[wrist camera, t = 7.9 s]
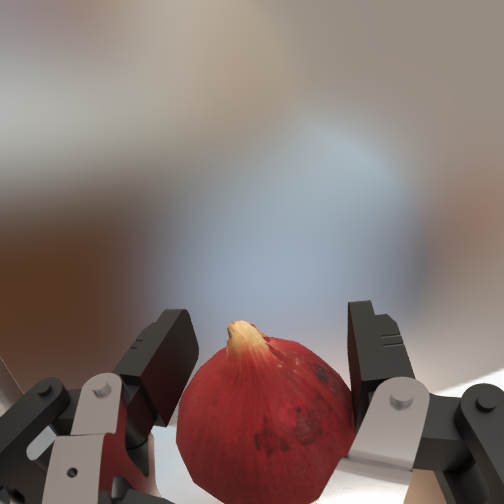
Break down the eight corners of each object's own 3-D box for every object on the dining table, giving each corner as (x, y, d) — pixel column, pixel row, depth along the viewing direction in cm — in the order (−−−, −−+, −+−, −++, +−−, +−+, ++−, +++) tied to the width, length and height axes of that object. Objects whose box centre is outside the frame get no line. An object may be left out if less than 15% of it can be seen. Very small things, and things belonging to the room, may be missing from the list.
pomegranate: (353, 430, 12) (368, 272, 9) (337, 544, 7) (378, 433, 4) (231, 419, 14) (193, 272, 11) (185, 517, 9) (86, 384, 6)
